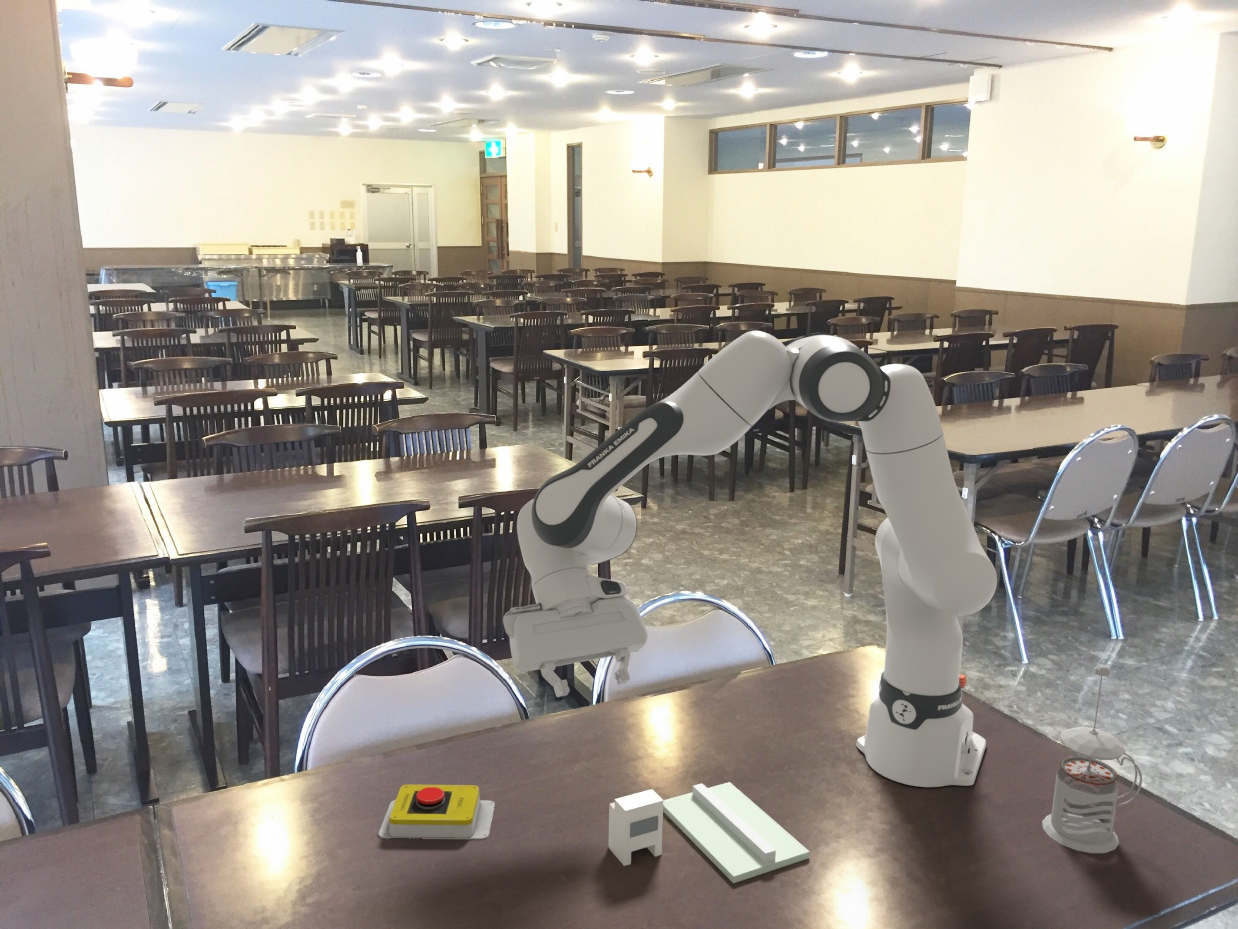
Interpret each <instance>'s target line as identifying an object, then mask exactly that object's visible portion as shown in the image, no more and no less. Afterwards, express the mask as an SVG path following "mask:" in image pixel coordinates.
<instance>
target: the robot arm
mask: <svg viewBox="0 0 1238 929" xmlns="http://www.w3.org/2000/svg"><path fill="white" fill-rule="evenodd" d="M787 401H796V402H797V403H798V404H799V405H801V406H802V407H803V408H805V409H806V410H808V411H809V412H811V413H812V414H813V415H814V416H816V417H818V418H819V419H821V420H826V421H828V422H835V423H837V422H838V423H839V422H840V423H845V422H857V423H858V425H859V428H860V429H861V433H862V440H863V444H864V447H865V448H864V449H865V453H866V457H867V461H868V464H869V469H870V473H871V477H872V481H873V486H874V489H875V492H876V497H877V499H878V502H879V503H880V505H881V506H882V509H883V510H884V513H885V514H886V516H887V517H886V518H885V519H884V520H883V521H882V522H881V523H880V525H879V526H878V528H877V530H876V533H875V538H874V546H875V550H876V553H877V557H878V560H879V563H880V569H881V577H882V579H881V580H882V587H883V588H882V589H883V598H884V605H885V613H886V642H885V643H886V644H885V646H886V647H885V656H884V657H885V658H884V669H883V671H882V673H881V674H880V680H879V684H878V685H879V686H878V687H879V688H878V689H879V693H878V698H875V700H873V701H871V702H870V705H869V710H868V718H867V724H866V729H865V730H866V731H865V734H864V735H863V736H860V737H858V738H857V740H856V745H855V746H856V747H857V748H858V750H860V751H861V752H862V753H863V754H864V756H865V759H866V762H867V763H868V765H869V766H870V767H871V769H873V770H874V772H876V773H878V774H879V775H880V776H883V777H885V778H886V779H889V780H891V781H895V782H897V783H899V784H900V783H901V784H904V785H907V786H913V787H921V788H938V787H944V786H945V787H946V786H961V787H962V786H964V787H965V786H966V787H967V786H968V787H969V786H972V785H974V784H975V780H976V777H977V775H978V771H979V769H980V766H981V763H982V760H983V756H984V753H985V750H986V747H987V741H986V739H985V738H984V737H983V736H982V735H980V734H979V733H976V732H974V731H973V727H974V726H973V725H974V713H973V712H972V711H971V709H969V708H968V706H966V705H965V704H964V703H963V691H962V689H964V688H965V687H966V684H967V679H968V678H967V675H963V674H961V667H962V666H961V665H962V656H963V645H964V638H963V631H962V628H961V626H960V623H959V619H958V616H968V615H971V614H975V613H976V612H979V611H980V610H982V609H983V608H985V607H986V606H987V604H989V602H990V601H991V600H992V598H993V597H994V595H995V592H996V589H997V585H998V575H997V571H996V568H995V566H994V564H993V562H992V561H991V559H990V558H989V556H988V555H987V553H986V551H985V549H984V548H983V545H982V543H981V542H980V540H979V536H978V534H977V532H976V529H975V527H974V524H973V522H972V520H971V517H970V515H969V513H968V509H967V508H966V506H965V504H964V502H963V499H962V497H961V494H960V491H959V489H958V487H957V484H956V481H955V477H954V474H953V469H952V465H951V461H950V457H949V452H948V448H947V444H946V439H945V435H944V432H943V431H944V430H943V427H942V422H941V419H940V418H941V417H940V415H939V412H938V409H937V406H936V403H935V400H934V397H933V395H932V393H931V390H930V388H929V386H928V382H926V379H925V377H924V376H923V374H922V373H921V372H920V370H918V369H917V368H916V367H914V366H912V365H910V364H909V365H908V364H904V363H903V364H902V363H891V364H885V365H882V366H879V365H878V364H877V363H876V362H875V361H874V359H873V358H872V357H870V356H869V355H868V354H867V353H866V352H865V351H863V350H862V349H861V348H859V347H858V346H857V345H856V344H854V343H852V342H851V341H850V340H848V339H846V338H843V337H839V336H836V335H834V334H831V333H829V332H828V333H827V332H812V333H808V334H805V335H801V336H798V337H795V338H792V339H787V340H784V341H782V342H781V341H780V340H779V339H778V338H776V337H775V335H772V334H770V333H767V332H765V331H762V330H751V331H747V332H745V333H744V334H742V335H740V336H739V337H737V338H736V339H734V340H733V341H731V342H730V343H729V344H728V345H726V346H725V347H723V348H722V349H720V351H719V352H718V353H716V354H715V355H714V356H712V358H711V359H709V360H708V361H707V362H706V363H705V364H704V365H703V366H702V367H701V368H700V369H699V370H698V371H697V372H696V373H695V374H693V376H692V377H690V378H689V379H688V380H687V381H685V383H684V384H682V385H681V386H680V387H679V388H678V389H677V390H675V391H674V392H673V393H671V394H670V395H668V396H667V397H664V398H663V399H662V400H660V401H657V402H656V403H653V404H651V405H650V406H648V407H646V408H645V409H643V410H641V411H640V412H638V413H637V414H636V415H635V416H634V417H632V418H631V419H630V420H628V421H627V422H626V423H625V424H623V425H622V426H621V427H620V428H619V429H617V430H616V431H615V432H613V434H612V435H610V436H609V437H608V438H607V439H605V440H604V441H603V442H601V443H600V444H599V445H598V446H597V447H596V448H595V449H594V450H592V451H591V452H590V453H588V454H587V455H586V456H585V457H584V458H582V459H581V460H580V461H578V462H577V463H576V464H575V465H573V466H572V467H570V468H568V469H565V470H564V471H561V472H559V473H557V474H555V475H553V476H552V477H550V478H549V479H547V480H545V482H544V483H542V485H541V486H539V489H538V490H537V491H536V494H535V495H534V498H532V499H531V500H529V501H528V502H527V503H526V504H524V505H523V506H522V507H521V508H520V511H519V513H518V516H517V520H516V521H517V522H516V532H517V539H518V545H519V547H520V552H521V556H522V559H523V563H524V566H525V567H526V569H527V571H528V573H529V575H530V578H531V590H532V594H533V597H534V599H535V600H534V601H535V603H533V604H528V605H524V606H515V607H510V609H509V611H506V612H505V614H504V615H503V618H502V623H503V626H504V627H503V628H504V631H505V633H506V634H507V636H508V637H509V647H510V653H511V659H512V664H513V666H514V668H515V669H516V670H517V671H518V672H519V673H526V672H532V671H537V670H540V673H541V676H542V677H543V679H544V680H546V681H547V682H548V683H549V684H550V685H551V687H553V690H554V694H555V696H556V698H560V697H565V696H568V694H569V693H570V687H569V685H568V684H569V683H568V681H567V680H568V679H561V678H560V677H559V676H558V675H557V674H556V673H555V671H554V670H556V667H561V666H566V665H571V664H576V663H577V664H578V663H583V662H588V661H594V660H598V659H599V660H600V659H605V658H611V657H614V658H615V661H616V663H619V668H618V669H617V670H616V672H614V673H613V677H614V679H615V684H616V685H617V686H619V685H620V686H621V685H626V684H628V683H629V682H630V680H631V676H630V674H629V671H628V668H629V663H630V659H631V654H633V653H637V652H639V651H640V650H641V649H643V647H644V646H645V645H646V643H647V641H648V638H649V637H648V636H649V635H648V631H647V629H646V626H645V622H644V621H643V618H642V616H641V614H640V611H639V609H638V607H637V605H636V604H635V603H634V602H633V601H632V599H630V598H627V597H626V596H627V594H628V592H629V591H628V587H627V585H626V583H625V582H624V581H622V580H621V581H620V580H615V579H608V578H603V577H600V576H599V577H598V576H595V575H591V573H590V566H593V565H599V564H602V563H605V562H607V561H610V560H614V559H616V558H619V557H620V556H622V555H624V554H625V553H626V552H627V551H628V550H630V548H631V546H632V545H633V543H634V542H635V539H636V535H637V532H638V519H637V514H636V513H635V510H634V508H633V507H632V506H631V505H630V504H629V503H628V502H627V501H625V500H623V499H621V498H619V497H617V496H615V495H614V494H613V493H615V491H617V490H618V489H619V488H620V487H622V486H623V485H624V484H625V483H627V481H629V480H630V479H631V478H633V476H635V475H636V474H637V473H638V472H639V471H641V470H642V469H643V468H644V467H645V466H647V465H648V464H650V463H651V462H654V461H656V460H658V459H661V458H665V457H669V456H677V455H680V456H681V455H686V456H687V455H691V456H701V457H702V456H713V455H717V454H719V453H721V452H722V451H724V450H726V449H728V448H729V447H731V446H732V445H733V444H735V443H736V442H737V441H739V440H740V439H741V438H742V437H743V436H744V435H745V434H746V433H747V432H748V431H749V430H750V429H751V428H752V427H754V425H755V424H756V423H757V422H758V421H759V420H760V419H761V418H762V416H764V415H765V413H766V412H768V410H771V409H772V408H773V407H775V406H777V405H778V404H780V403H783V402H787Z"/></svg>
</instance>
